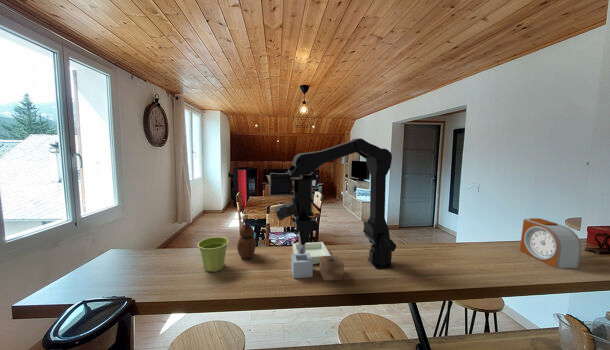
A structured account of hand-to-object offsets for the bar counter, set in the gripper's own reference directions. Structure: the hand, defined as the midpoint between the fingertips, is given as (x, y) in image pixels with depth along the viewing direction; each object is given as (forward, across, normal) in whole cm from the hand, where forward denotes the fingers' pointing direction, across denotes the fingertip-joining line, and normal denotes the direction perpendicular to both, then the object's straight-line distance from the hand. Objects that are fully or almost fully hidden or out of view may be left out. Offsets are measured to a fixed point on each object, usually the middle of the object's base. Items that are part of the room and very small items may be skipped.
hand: (302, 243), depth 76 cm
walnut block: (+10, +3, +9) cm, 14 cm away
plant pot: (+10, -7, -28) cm, 31 cm away
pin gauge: (+3, 0, 0) cm, 3 cm away
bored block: (+10, 0, 0) cm, 10 cm away
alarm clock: (+10, +2, +92) cm, 92 cm away
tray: (+10, -11, +5) cm, 16 cm away
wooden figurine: (+10, -14, -18) cm, 25 cm away
